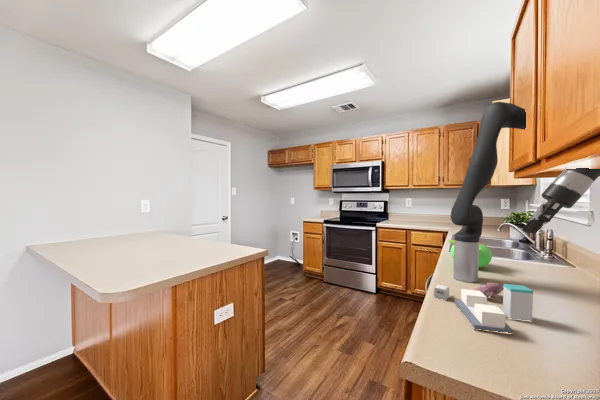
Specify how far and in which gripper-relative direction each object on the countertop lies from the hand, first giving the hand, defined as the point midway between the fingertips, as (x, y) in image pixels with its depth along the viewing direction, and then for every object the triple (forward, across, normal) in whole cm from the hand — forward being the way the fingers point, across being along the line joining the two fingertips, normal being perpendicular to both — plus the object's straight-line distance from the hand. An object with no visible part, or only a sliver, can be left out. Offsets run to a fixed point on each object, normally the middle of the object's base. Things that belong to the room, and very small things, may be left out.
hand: (527, 232), depth 79 cm
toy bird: (+25, -54, -2) cm, 59 cm away
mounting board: (+30, +8, +4) cm, 31 cm away
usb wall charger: (+35, -3, -6) cm, 35 cm away
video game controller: (+26, -12, +6) cm, 29 cm away
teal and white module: (+24, +2, +12) cm, 27 cm away
